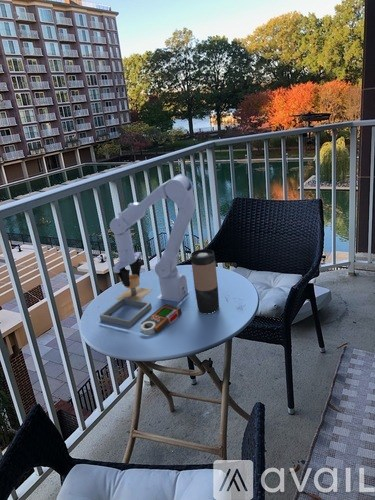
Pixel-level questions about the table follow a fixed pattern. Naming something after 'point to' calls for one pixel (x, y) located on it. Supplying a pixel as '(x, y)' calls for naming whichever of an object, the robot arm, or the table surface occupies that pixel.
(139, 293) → the tan square plate
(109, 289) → the table surface
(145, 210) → the robot arm
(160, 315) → the electronic device
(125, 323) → the tray
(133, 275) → the ring
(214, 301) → the travel mug
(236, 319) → the table surface
